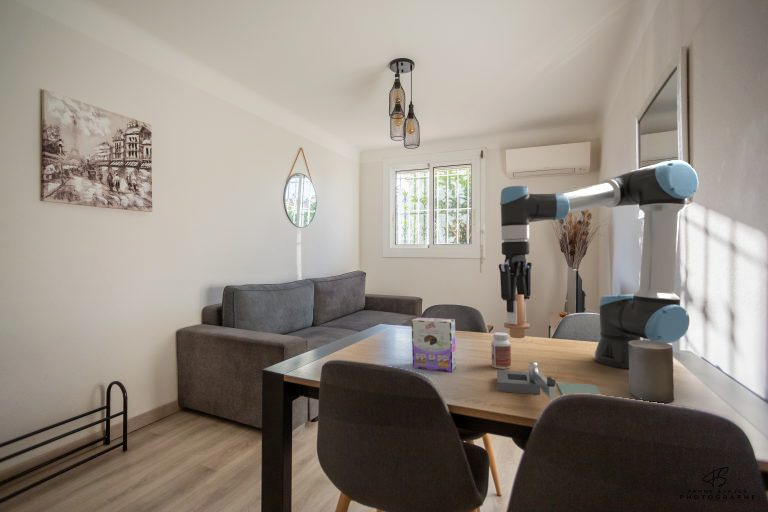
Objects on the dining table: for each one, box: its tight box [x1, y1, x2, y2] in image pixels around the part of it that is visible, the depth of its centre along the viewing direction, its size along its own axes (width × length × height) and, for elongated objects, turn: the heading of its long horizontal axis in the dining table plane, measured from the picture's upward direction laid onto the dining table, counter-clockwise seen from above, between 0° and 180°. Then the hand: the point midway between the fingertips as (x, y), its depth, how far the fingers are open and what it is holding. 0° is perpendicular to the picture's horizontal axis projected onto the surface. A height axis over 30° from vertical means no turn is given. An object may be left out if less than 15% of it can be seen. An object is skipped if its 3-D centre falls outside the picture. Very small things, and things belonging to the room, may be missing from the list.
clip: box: [528, 361, 557, 400], centre depth 97 cm, size 16×2×6 cm, turn 175°
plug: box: [503, 293, 531, 339], centre depth 109 cm, size 7×7×12 cm
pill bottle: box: [490, 331, 512, 370], centre depth 127 cm, size 6×6×11 cm
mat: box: [556, 382, 602, 395], centre depth 104 cm, size 10×10×1 cm
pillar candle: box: [628, 339, 675, 403], centre depth 100 cm, size 10×10×15 cm
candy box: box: [410, 316, 457, 373], centre depth 127 cm, size 14×6×16 cm, turn 65°
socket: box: [496, 369, 541, 395], centre depth 109 cm, size 11×11×2 cm
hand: (516, 322), depth 109 cm, fingers closed on plug, 4 cm apart
